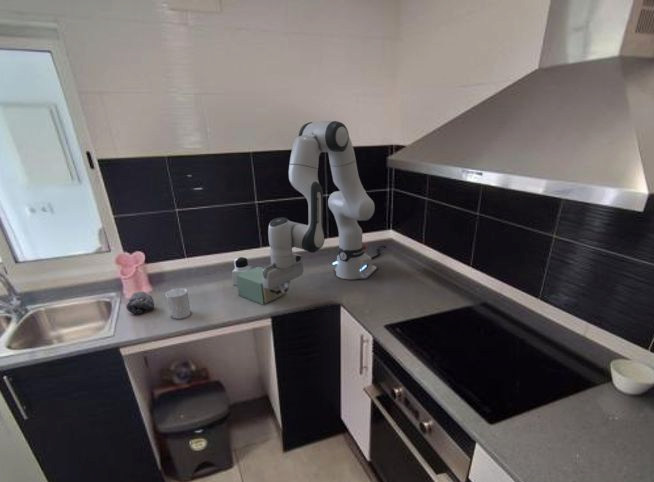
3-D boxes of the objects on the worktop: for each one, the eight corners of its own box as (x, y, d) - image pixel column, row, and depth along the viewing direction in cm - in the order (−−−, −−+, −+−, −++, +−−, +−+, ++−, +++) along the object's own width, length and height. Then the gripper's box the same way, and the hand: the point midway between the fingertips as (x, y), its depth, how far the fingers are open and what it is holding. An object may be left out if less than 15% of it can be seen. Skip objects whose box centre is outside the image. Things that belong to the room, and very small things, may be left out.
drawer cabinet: (284, 294, 168) (282, 274, 164) (263, 304, 160) (260, 283, 155) (260, 285, 177) (258, 266, 172) (239, 295, 168) (236, 275, 163)
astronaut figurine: (253, 279, 183) (250, 256, 177) (248, 285, 177) (245, 261, 171) (239, 279, 183) (235, 255, 178) (233, 285, 177) (230, 261, 171)
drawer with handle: (293, 296, 164) (292, 279, 160) (274, 306, 156) (272, 289, 152) (263, 285, 174) (261, 269, 171) (243, 294, 167) (241, 277, 163)
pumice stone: (141, 322, 152) (161, 306, 158) (131, 308, 147) (152, 292, 153) (126, 315, 157) (146, 300, 162) (116, 301, 152) (137, 286, 157)
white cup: (171, 312, 154) (165, 290, 150) (191, 309, 157) (186, 286, 152) (171, 321, 148) (165, 298, 143) (192, 317, 150) (187, 294, 146)
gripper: (268, 269, 142) (271, 302, 148) (304, 254, 156) (306, 285, 163) (256, 266, 145) (260, 298, 152) (293, 251, 159) (295, 281, 166)
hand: (284, 291), depth 157 cm, fingers closed, pressing on drawer with handle
